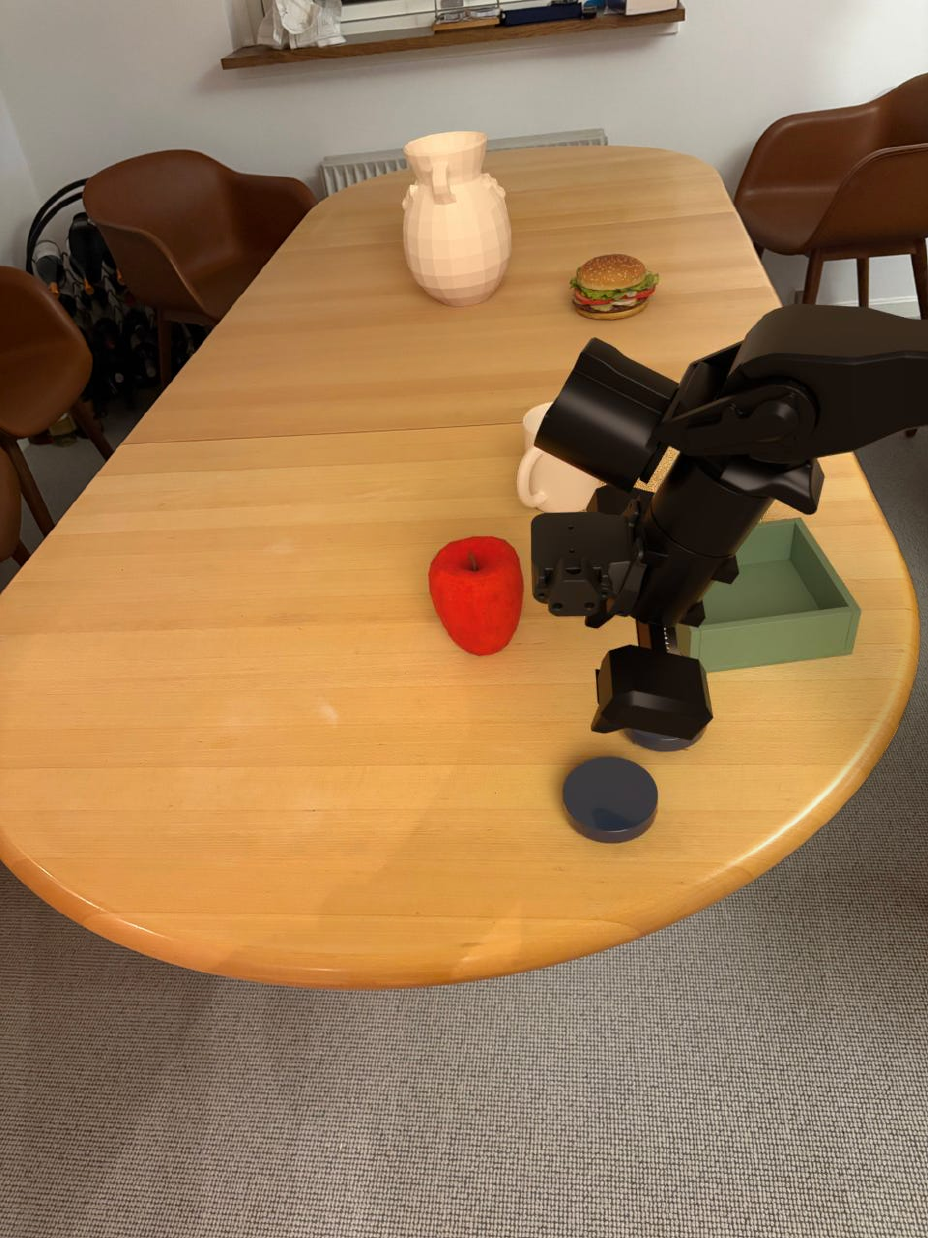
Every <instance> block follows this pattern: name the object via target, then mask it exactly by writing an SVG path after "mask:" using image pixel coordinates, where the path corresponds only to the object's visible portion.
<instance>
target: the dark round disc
mask: <svg viewBox="0 0 928 1238" xmlns="http://www.w3.org/2000/svg"><path fill="white" fill-rule="evenodd" d="M561 797H562V808H563V809H562V810H563V814H564V816H565V819H566V820H567V823H568V824H569V825H570V827H571V828H573V830H574V831H576V832H577V833H578V834H579V835H581V836H582V837H584V838H585V839H588V840H591V841H594V842H597V843H601V844H611V845H613V844H614V845H615V844H622V843H627V842H631V841H633V840H636V839H637V838H639V837H641V836H642V835H644V834H645V833H646V832H648V830H650V828H651V827H652V826H653V824H654V822H655V820H656V819H657V815H658V809H659V790H658V787H657V784H656V781H655V779H654V778H653V776H652V775H651V774H650V773H649V771H647V770H646V769H645V768H644V767H643V766H641V765H640V764H638V763H637V762H634V761H632V760H631V759H627V758H624V757H619V756H607V755H606V756H599V757H594V758H590V759H588V760H585V761H583V762H581V763H580V764H578V765H577V766H575V767H574V768H573V769H572V770H570V772H569V773H568V775H567V776H566V778H565V779H564V782H563V785H562V791H561Z"/></svg>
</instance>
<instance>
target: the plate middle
mask: <svg viewBox="0 0 928 1238" xmlns="http://www.w3.org/2000/svg"><path fill="white" fill-rule="evenodd" d="M707 728H708V725H707V726H706V727H705V728H704V729H703V730H702V731H701V732H700V733H699V735H697V736H696V737H695V738H694V739H693V740H691V741H690V740H685V739H680V738H675V737H670V736H665V735H660V734H655V733H650V732H645V731H640V730H635V729H630V728H625V729H621V730H622V732H623V734H625V736H626V737H627V738H628V739H629V741H631V742H633V743H634V744H636V745H637V746H638V747H641V748H643V749H646V750H650V751H654V752H661V753H670V752H672V753H673V752H678V751H681V750H686V749H689V748H690V747H692V746H694V745H695V744H696V743H697V742H699V741H700V740H701V739H702V737H704V734H705V733H706V730H707Z"/></svg>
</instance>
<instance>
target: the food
mask: <svg viewBox="0 0 928 1238" xmlns="http://www.w3.org/2000/svg"><path fill="white" fill-rule="evenodd" d="M648 268H649V267H646V266H645V264H644V263H643V262H642V261H641V260H639V259H638V258H636V257H633V256H631V255H628V254H622V253H611V254H603V255H599V256H596V257H592V258H591V259H589V260H588V261H586V262H585V263H584V264H583V265H581V266H578V267H577V268H576V276H575V277H574V278H573V279H572V278H571V280H570V282H569V285H571V286H570V287H569V290H571V289H573V293H572V294H571V298H572V300H571V301H572V304H573V305H574V306H575V309H576V310H577V312H578V314H579V315H581V316H584V317H585V318H589V319H594V320H605V321H606V320H608V321H609V320H610V321H611V320H613V321H614V320H618V319H625V318H629V317H631V316H635V315H637V314H639V313H640V312H643V311H644V310H645V309H646V308H647V307H648V303H649V300H648V298H649V297H650V296H651V295H653V294H654V292H656V287H657V286H656V285H659V283H660V274H659V273H658V272H657V273H654V274H653V273H652V272H651V270H648Z"/></svg>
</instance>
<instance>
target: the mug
mask: <svg viewBox="0 0 928 1238" xmlns="http://www.w3.org/2000/svg"><path fill="white" fill-rule="evenodd" d="M554 401H555V400H554ZM554 401H548V402H545V403H541V404H538V405H536V406H534V407H532V408H531V409H529V410H528V411H527V412H526V413H525V414H524V416H523V417H522V431H523V444H524V454H523V456H522V459H521V460H520V463H519V466H518V469H517V470H518V471H517V475H516V493H517V496H518V499H519V501H520V503H521V504H522V505H523V506H524V507H526V508H530V509H531V508H532V509H533V508H536V509H538V510H539V511H542V512H543V513H557V512H584V511H586V507H587V505H588V503H589V501H590V499H591V497H592V495H593V493H594V492H595V490H596V488H599V487H601V485H600V484H601V483H600V482H601V481H600V480H598V479H596V478H594V477H592V476H590V475H588V474H586V473H584V472H583V471H581V470H579V469H577V468H575V467H573V466H571V465H569V464H567V463H565V462H563V461H561V460H560V459H558V458H556V457H554V456H552V455H550V454H548V453H546V452H544V451H542V450H540V449H538V448H536V447H535V446H534V440H535V437H536V434H537V432H538V429H539V427H540V424H541V422H542V420H543V417H544V415H545V413H546V412H547V410H548V409H549V408H550V406H551V405H552V403H553V402H554Z"/></svg>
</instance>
